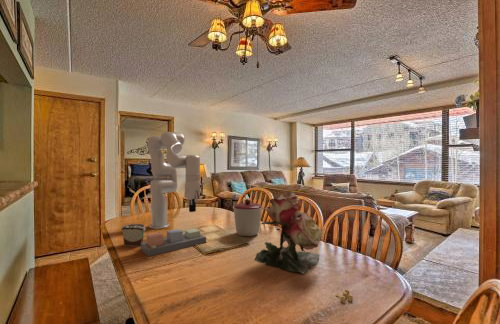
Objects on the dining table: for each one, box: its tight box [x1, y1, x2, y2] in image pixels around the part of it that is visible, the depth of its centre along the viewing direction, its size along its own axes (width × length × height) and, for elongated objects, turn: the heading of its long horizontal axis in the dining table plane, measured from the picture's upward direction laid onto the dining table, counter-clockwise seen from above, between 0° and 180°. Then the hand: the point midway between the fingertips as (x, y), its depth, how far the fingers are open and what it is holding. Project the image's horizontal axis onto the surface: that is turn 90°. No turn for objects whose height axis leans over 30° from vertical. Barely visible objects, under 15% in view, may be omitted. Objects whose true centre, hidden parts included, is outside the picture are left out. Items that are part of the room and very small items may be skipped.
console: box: [140, 233, 207, 257], centre depth 125 cm, size 12×30×4 cm, turn 129°
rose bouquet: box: [254, 191, 323, 275], centre depth 109 cm, size 26×29×30 cm
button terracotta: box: [146, 232, 164, 248], centre depth 118 cm, size 6×6×5 cm
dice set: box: [335, 289, 354, 304], centre depth 78 cm, size 5×5×2 cm
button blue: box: [166, 228, 184, 243], centre depth 125 cm, size 6×6×5 cm
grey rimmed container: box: [121, 223, 146, 247], centre depth 127 cm, size 12×6×10 cm, turn 84°
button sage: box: [184, 228, 201, 239], centre depth 131 cm, size 6×6×5 cm
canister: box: [232, 198, 264, 237], centre depth 145 cm, size 18×18×21 cm
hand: (192, 211), depth 131 cm, fingers closed
